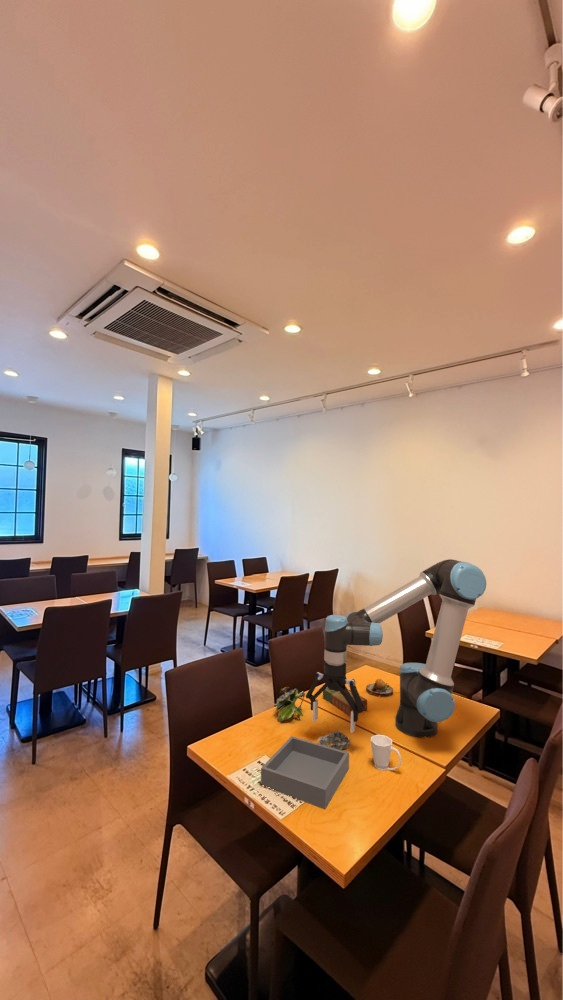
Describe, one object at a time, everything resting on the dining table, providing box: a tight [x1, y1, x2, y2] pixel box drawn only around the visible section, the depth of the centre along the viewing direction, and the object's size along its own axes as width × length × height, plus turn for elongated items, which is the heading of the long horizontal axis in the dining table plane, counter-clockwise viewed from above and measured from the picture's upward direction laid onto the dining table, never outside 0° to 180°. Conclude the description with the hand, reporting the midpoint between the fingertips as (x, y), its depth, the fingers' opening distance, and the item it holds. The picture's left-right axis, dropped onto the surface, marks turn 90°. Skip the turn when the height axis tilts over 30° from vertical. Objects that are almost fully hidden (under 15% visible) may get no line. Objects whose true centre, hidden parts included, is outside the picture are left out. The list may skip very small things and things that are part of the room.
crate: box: [260, 735, 350, 810], centre depth 123 cm, size 20×20×5 cm
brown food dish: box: [365, 678, 394, 698], centre depth 185 cm, size 12×12×8 cm
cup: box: [370, 734, 402, 772], centre depth 128 cm, size 7×10×8 cm
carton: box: [322, 687, 368, 717], centre depth 172 cm, size 10×18×5 cm, turn 30°
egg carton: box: [316, 729, 352, 751], centre depth 139 cm, size 10×7×4 cm
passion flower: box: [273, 686, 306, 722], centre depth 161 cm, size 13×12×14 cm
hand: (333, 725), depth 139 cm, fingers open, 13 cm apart
